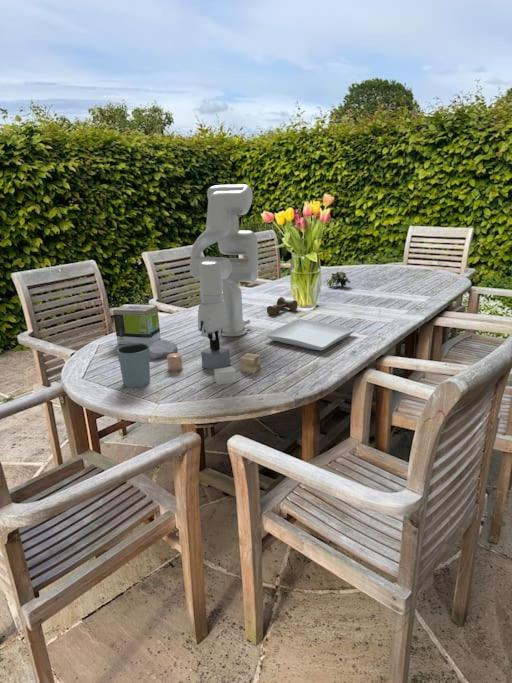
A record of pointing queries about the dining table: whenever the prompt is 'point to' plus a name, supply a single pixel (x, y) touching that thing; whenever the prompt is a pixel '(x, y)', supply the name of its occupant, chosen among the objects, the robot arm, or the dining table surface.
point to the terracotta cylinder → (174, 362)
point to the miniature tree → (338, 279)
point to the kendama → (282, 306)
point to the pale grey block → (225, 375)
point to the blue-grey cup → (134, 364)
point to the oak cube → (250, 363)
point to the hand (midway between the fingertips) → (215, 349)
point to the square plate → (310, 334)
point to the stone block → (162, 349)
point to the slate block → (215, 358)
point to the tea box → (137, 324)
